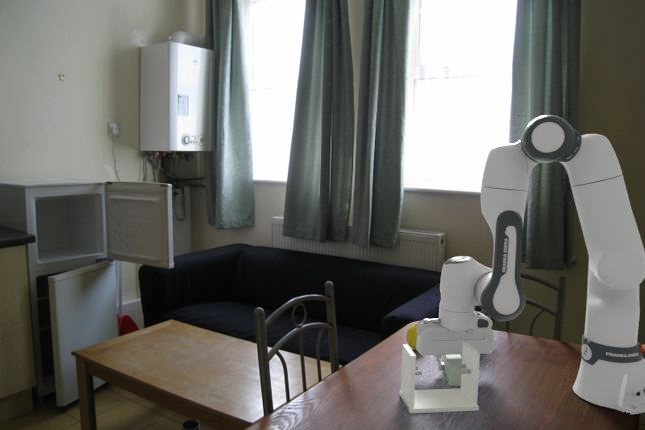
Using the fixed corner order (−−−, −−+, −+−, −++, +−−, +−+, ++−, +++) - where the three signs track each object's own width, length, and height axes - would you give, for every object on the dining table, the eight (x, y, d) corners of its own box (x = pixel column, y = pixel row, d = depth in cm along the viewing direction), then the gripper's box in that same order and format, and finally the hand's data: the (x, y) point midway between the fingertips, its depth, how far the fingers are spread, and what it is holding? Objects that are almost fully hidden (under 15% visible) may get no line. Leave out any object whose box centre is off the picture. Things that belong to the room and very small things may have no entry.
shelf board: (442, 366, 141) (443, 349, 140) (457, 367, 140) (458, 349, 140) (449, 385, 129) (449, 366, 128) (465, 386, 129) (466, 367, 128)
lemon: (424, 354, 149) (425, 327, 148) (405, 352, 150) (406, 326, 149) (424, 347, 154) (425, 321, 153) (406, 345, 155) (407, 320, 154)
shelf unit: (463, 392, 125) (466, 341, 124) (478, 410, 116) (481, 355, 115) (399, 394, 123) (401, 342, 122) (410, 413, 115) (412, 357, 113)
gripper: (420, 323, 129) (418, 375, 130) (498, 321, 131) (495, 373, 133) (413, 315, 135) (411, 365, 137) (488, 313, 137) (485, 363, 139)
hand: (453, 369), depth 135 cm, fingers open, 5 cm apart
